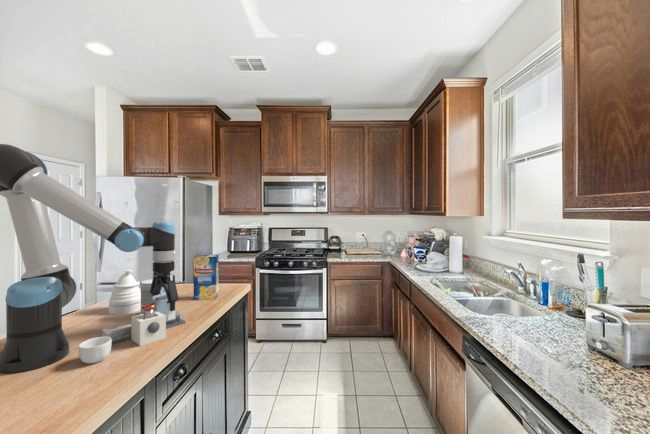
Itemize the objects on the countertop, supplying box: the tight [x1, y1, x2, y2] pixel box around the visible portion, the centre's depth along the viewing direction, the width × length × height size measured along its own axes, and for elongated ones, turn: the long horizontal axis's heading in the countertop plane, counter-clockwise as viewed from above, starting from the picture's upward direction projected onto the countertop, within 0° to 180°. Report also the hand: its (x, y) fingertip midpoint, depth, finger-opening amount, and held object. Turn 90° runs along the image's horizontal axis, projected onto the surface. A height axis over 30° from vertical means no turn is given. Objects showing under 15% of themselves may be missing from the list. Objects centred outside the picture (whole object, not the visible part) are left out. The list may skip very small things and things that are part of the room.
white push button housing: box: [130, 311, 167, 347], centre depth 101 cm, size 8×8×8 cm
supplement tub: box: [140, 278, 166, 314], centre depth 125 cm, size 10×10×15 cm
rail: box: [100, 311, 186, 345], centre depth 109 cm, size 25×10×3 cm, turn 141°
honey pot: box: [108, 269, 141, 315], centre depth 132 cm, size 13×13×18 cm
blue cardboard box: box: [193, 254, 220, 301], centre depth 151 cm, size 7×11×22 cm, turn 100°
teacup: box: [78, 336, 113, 365], centre depth 88 cm, size 10×8×5 cm
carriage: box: [152, 295, 177, 322], centre depth 114 cm, size 7×5×9 cm, turn 141°
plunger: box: [141, 303, 156, 320], centre depth 101 cm, size 4×4×8 cm
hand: (163, 315), depth 114 cm, fingers open, 13 cm apart
